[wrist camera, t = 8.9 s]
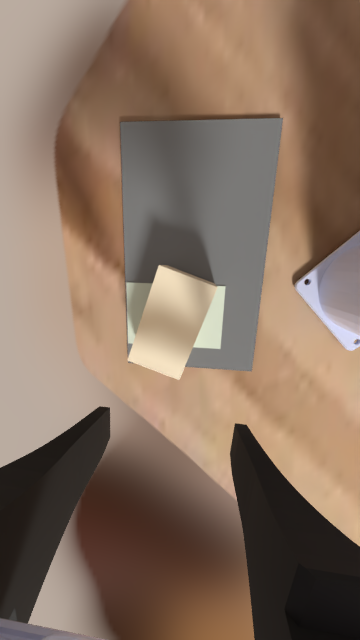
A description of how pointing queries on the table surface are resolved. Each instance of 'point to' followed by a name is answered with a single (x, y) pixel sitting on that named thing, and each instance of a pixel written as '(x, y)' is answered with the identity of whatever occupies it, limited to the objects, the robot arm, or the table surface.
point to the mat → (201, 222)
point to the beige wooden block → (171, 321)
